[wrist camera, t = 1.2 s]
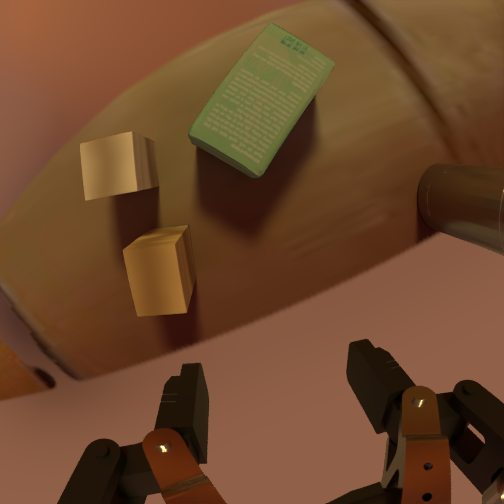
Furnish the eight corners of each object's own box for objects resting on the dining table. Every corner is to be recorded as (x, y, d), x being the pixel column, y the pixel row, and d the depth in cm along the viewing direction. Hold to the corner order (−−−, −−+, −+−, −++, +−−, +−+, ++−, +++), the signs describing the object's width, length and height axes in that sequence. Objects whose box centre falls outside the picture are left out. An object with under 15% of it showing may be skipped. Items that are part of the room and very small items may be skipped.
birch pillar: (154, 141, 28) (132, 131, 20) (159, 186, 29) (137, 190, 22) (112, 149, 28) (80, 144, 20) (117, 193, 29) (85, 200, 21)
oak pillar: (188, 224, 31) (174, 244, 22) (196, 276, 32) (186, 312, 24) (149, 229, 31) (122, 250, 22) (158, 280, 32) (137, 316, 24)
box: (192, 145, 29) (183, 136, 22) (259, 49, 26) (269, 19, 19) (252, 179, 30) (261, 181, 23) (314, 83, 28) (339, 61, 21)
